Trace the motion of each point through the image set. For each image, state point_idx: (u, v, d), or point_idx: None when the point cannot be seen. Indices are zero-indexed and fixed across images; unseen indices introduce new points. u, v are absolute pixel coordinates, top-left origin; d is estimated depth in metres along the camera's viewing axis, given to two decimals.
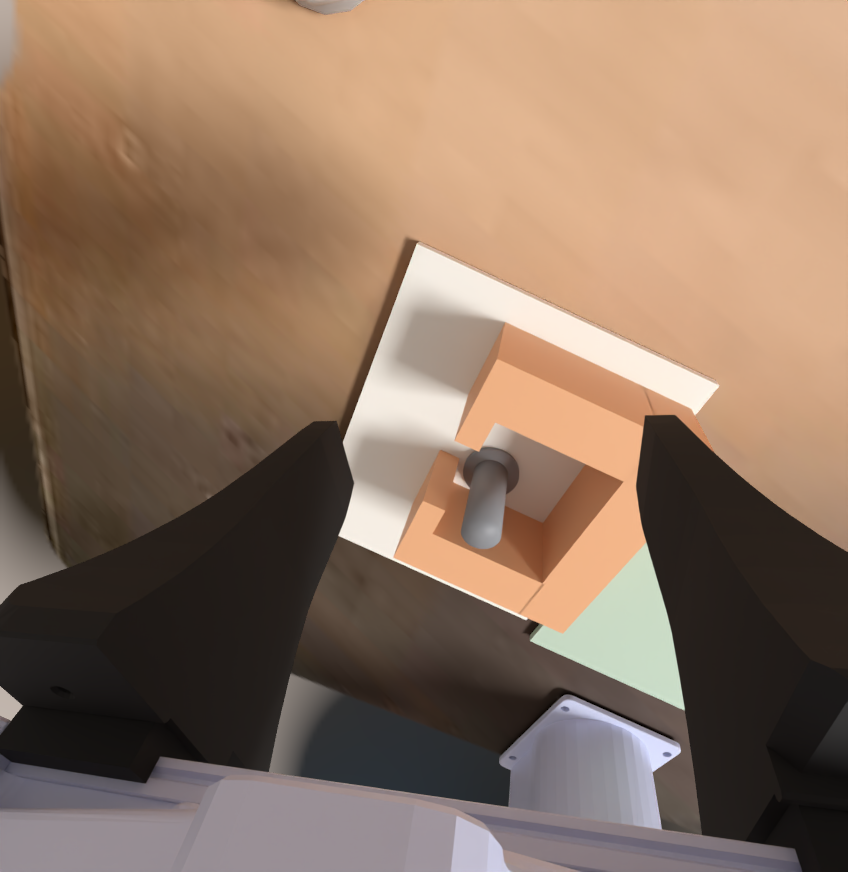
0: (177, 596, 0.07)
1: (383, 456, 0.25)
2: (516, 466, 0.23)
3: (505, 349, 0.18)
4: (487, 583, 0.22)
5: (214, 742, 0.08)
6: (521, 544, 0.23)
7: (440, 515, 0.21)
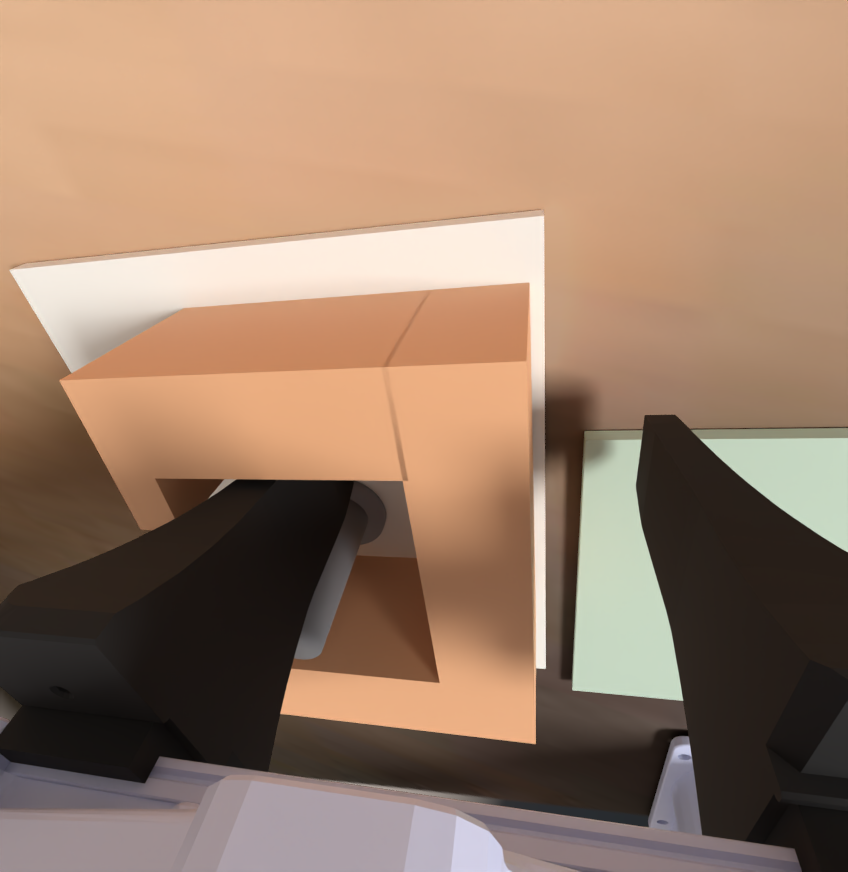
0: (176, 596, 0.07)
1: None
2: (362, 492, 0.15)
3: (112, 353, 0.10)
4: (371, 705, 0.13)
5: (213, 742, 0.08)
6: (411, 618, 0.14)
7: None
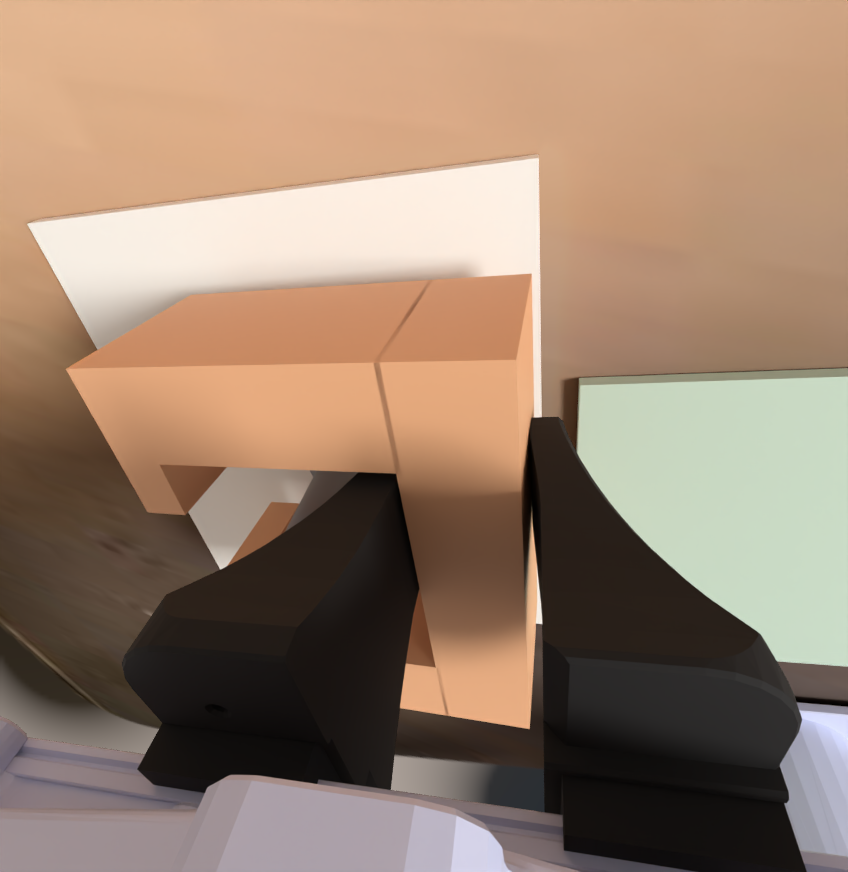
0: (334, 606, 0.07)
1: (232, 501, 0.19)
2: None
3: (117, 342, 0.10)
4: None
5: (359, 761, 0.07)
6: None
7: None
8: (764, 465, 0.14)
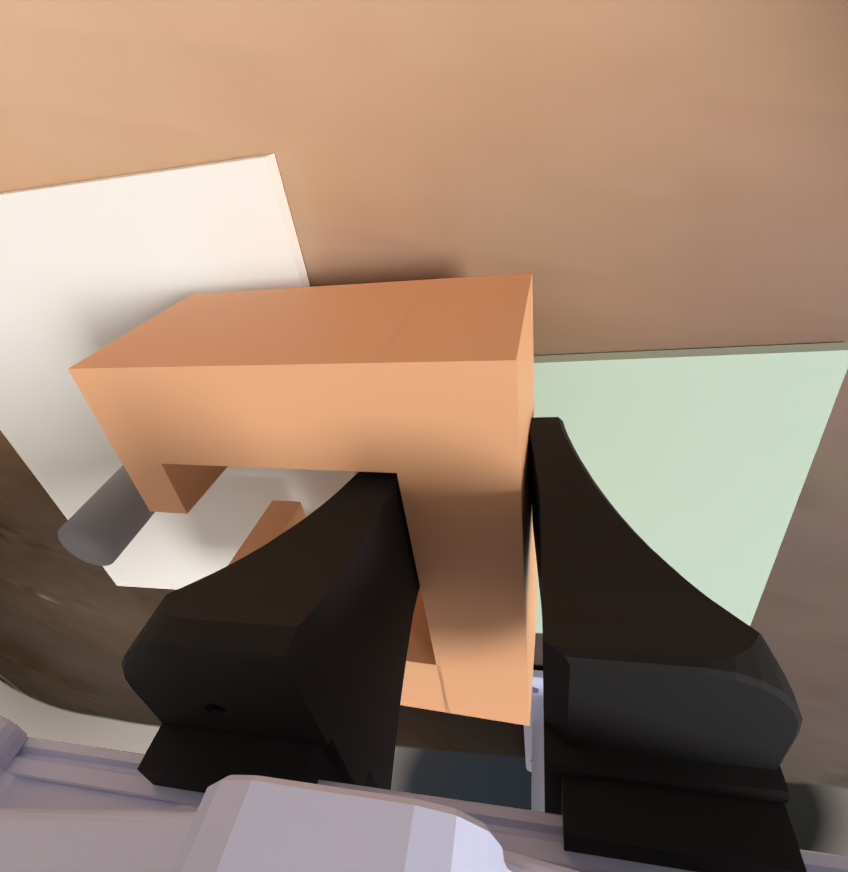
0: (334, 606, 0.07)
1: (85, 484, 0.19)
2: None
3: (119, 342, 0.11)
4: None
5: (359, 761, 0.07)
6: None
7: None
8: None
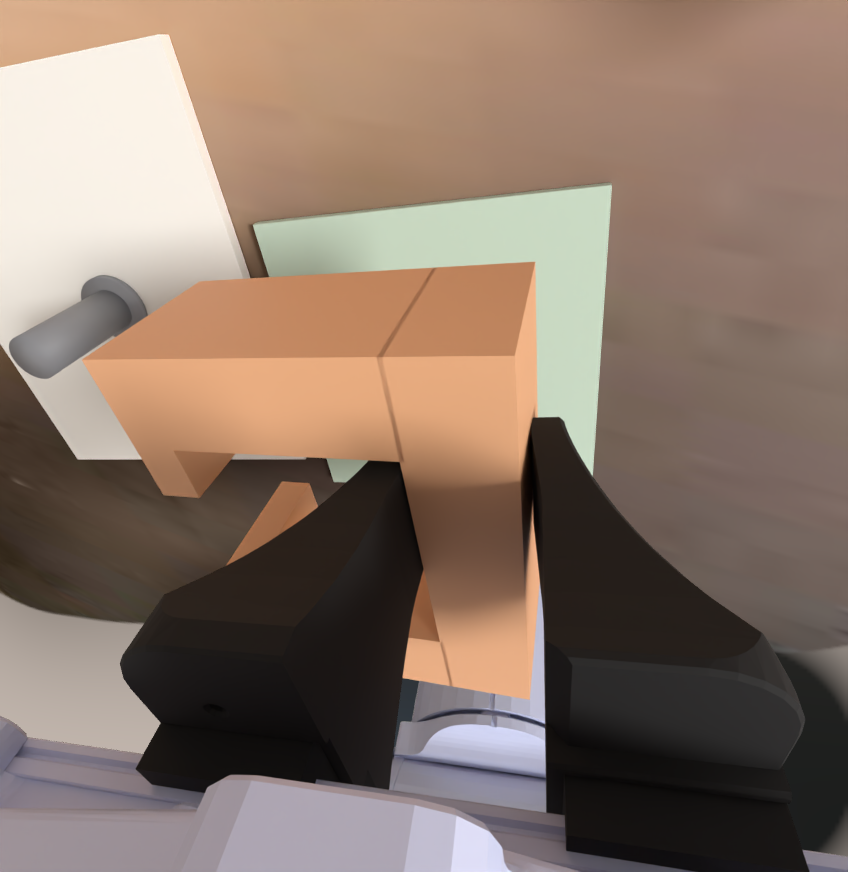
0: (333, 606, 0.07)
1: None
2: (118, 284, 0.20)
3: (130, 332, 0.11)
4: None
5: (357, 761, 0.07)
6: None
7: None
8: None
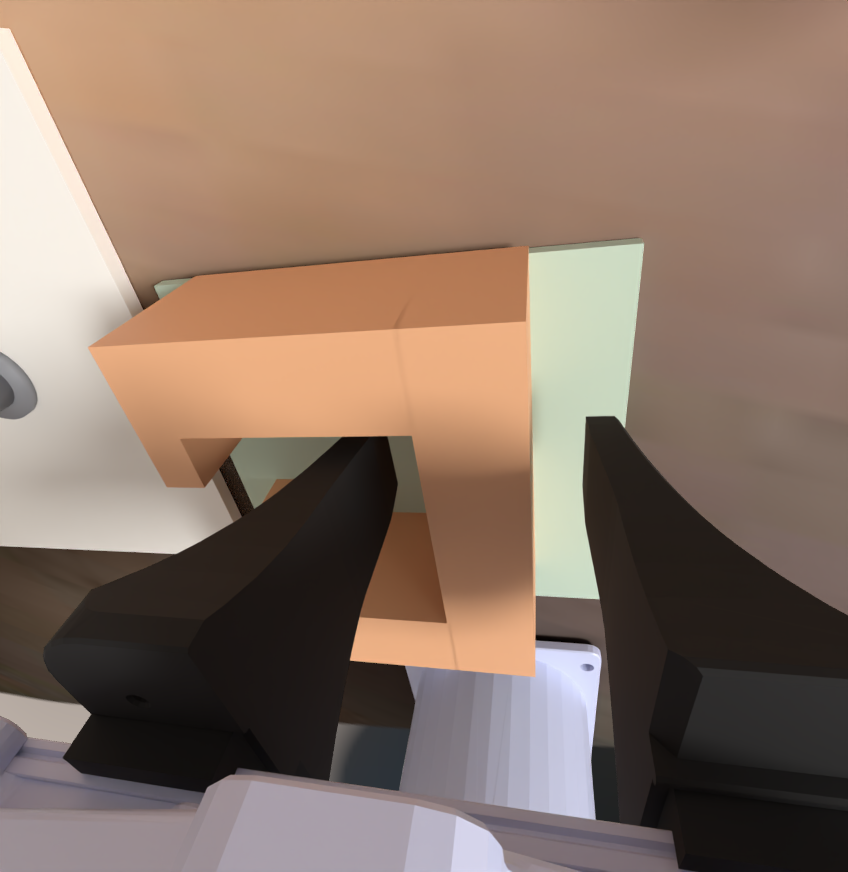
0: (254, 601, 0.07)
1: None
2: None
3: (134, 322, 0.11)
4: (384, 645, 0.14)
5: (285, 751, 0.08)
6: (419, 566, 0.15)
7: None
8: None
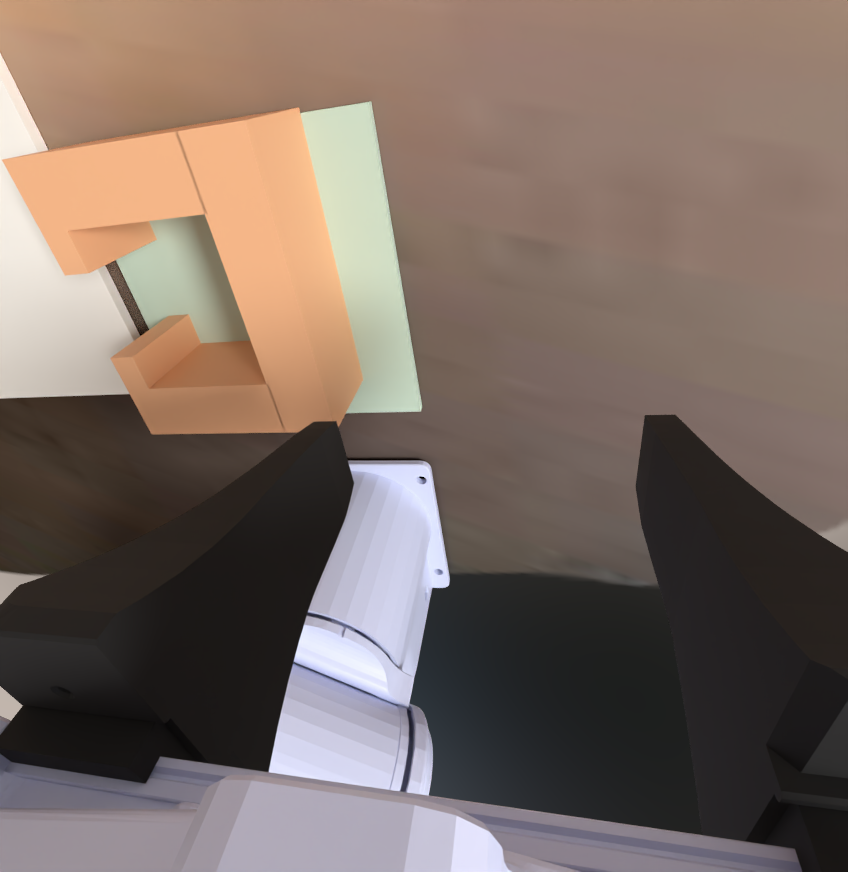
0: (177, 596, 0.07)
1: None
2: None
3: (36, 153, 0.17)
4: (231, 414, 0.20)
5: (214, 742, 0.08)
6: None
7: (134, 364, 0.20)
8: None
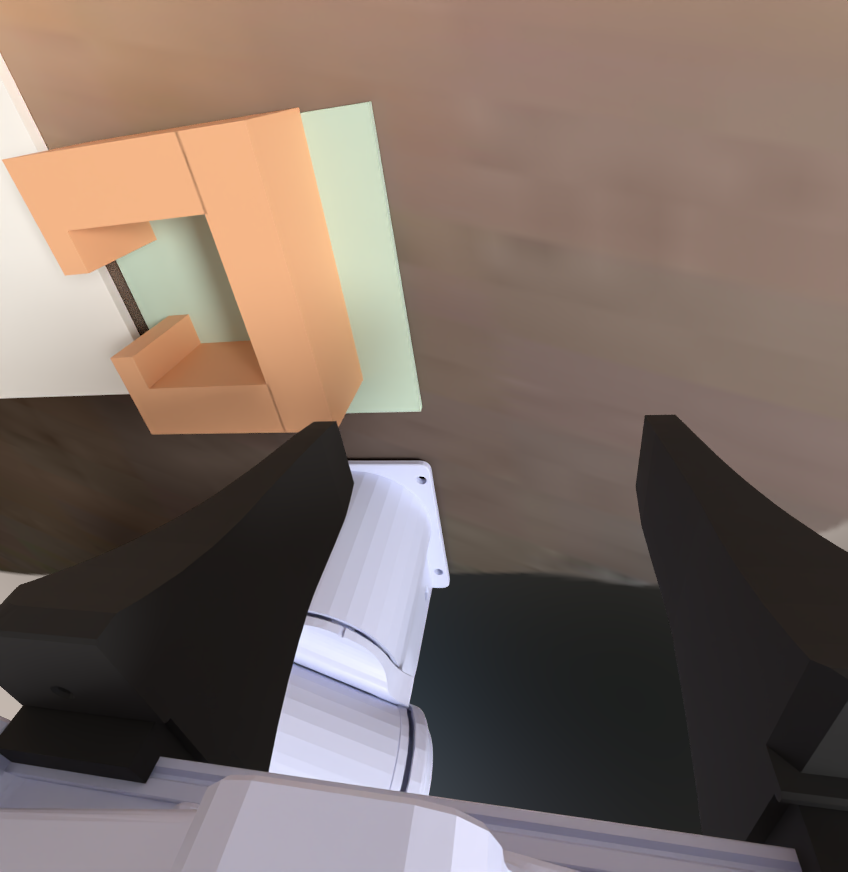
0: (177, 596, 0.07)
1: None
2: None
3: (36, 153, 0.17)
4: (231, 414, 0.20)
5: (214, 742, 0.08)
6: None
7: (134, 364, 0.20)
8: None
